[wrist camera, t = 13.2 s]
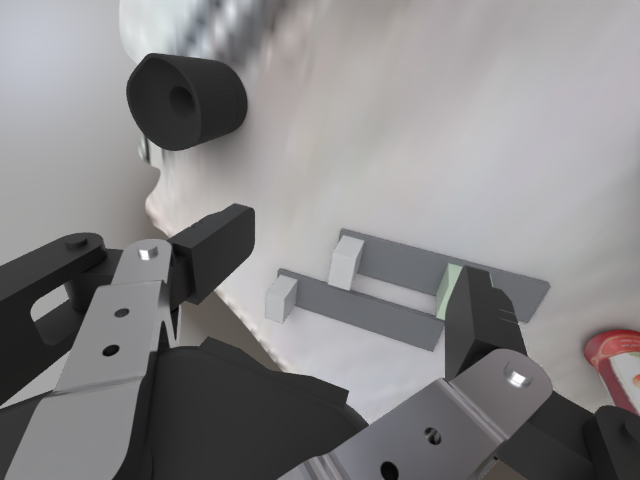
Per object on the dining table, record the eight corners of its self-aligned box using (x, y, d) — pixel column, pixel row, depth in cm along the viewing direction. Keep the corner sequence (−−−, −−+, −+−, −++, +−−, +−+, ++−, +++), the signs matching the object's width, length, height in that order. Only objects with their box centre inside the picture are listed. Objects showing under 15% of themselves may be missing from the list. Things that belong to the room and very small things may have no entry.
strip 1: (445, 319, 45) (445, 349, 40) (432, 347, 48) (431, 379, 43) (280, 268, 51) (262, 289, 46) (278, 296, 54) (262, 318, 49)
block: (490, 274, 39) (495, 298, 34) (475, 304, 41) (479, 330, 37) (448, 262, 40) (448, 285, 36) (436, 293, 42) (435, 317, 38)
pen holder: (186, 51, 40) (118, 46, 31) (252, 63, 38) (198, 61, 29) (191, 127, 44) (133, 140, 36) (250, 142, 42) (203, 159, 34)
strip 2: (548, 282, 38) (564, 313, 33) (526, 319, 41) (537, 352, 36) (341, 228, 44) (329, 248, 39) (336, 263, 47) (323, 285, 42)
